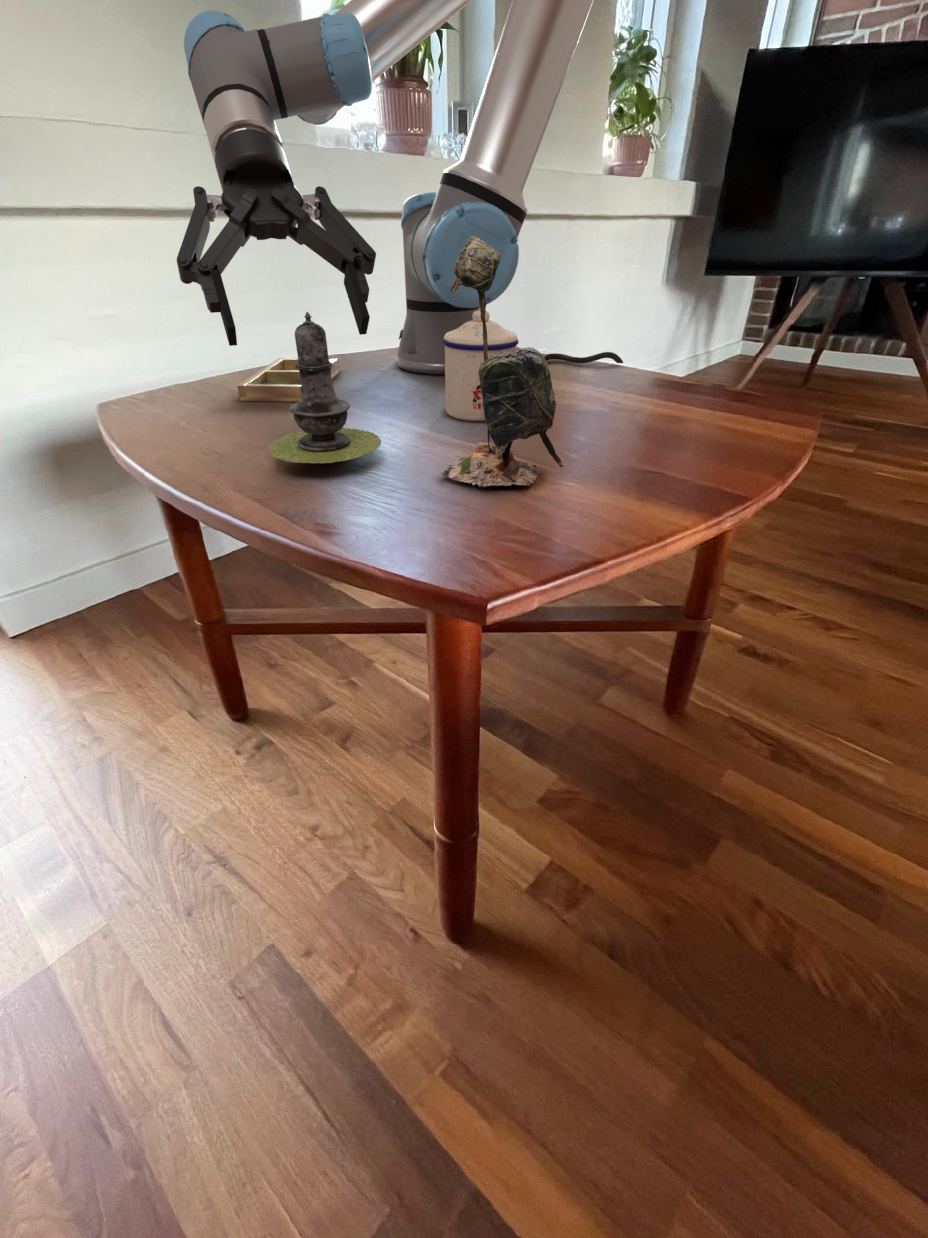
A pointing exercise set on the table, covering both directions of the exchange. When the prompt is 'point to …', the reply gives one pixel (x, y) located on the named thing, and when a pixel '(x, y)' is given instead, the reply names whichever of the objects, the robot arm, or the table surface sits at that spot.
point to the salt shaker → (317, 392)
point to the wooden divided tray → (277, 382)
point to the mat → (357, 447)
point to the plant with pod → (503, 390)
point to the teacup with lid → (471, 364)
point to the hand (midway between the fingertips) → (301, 331)
